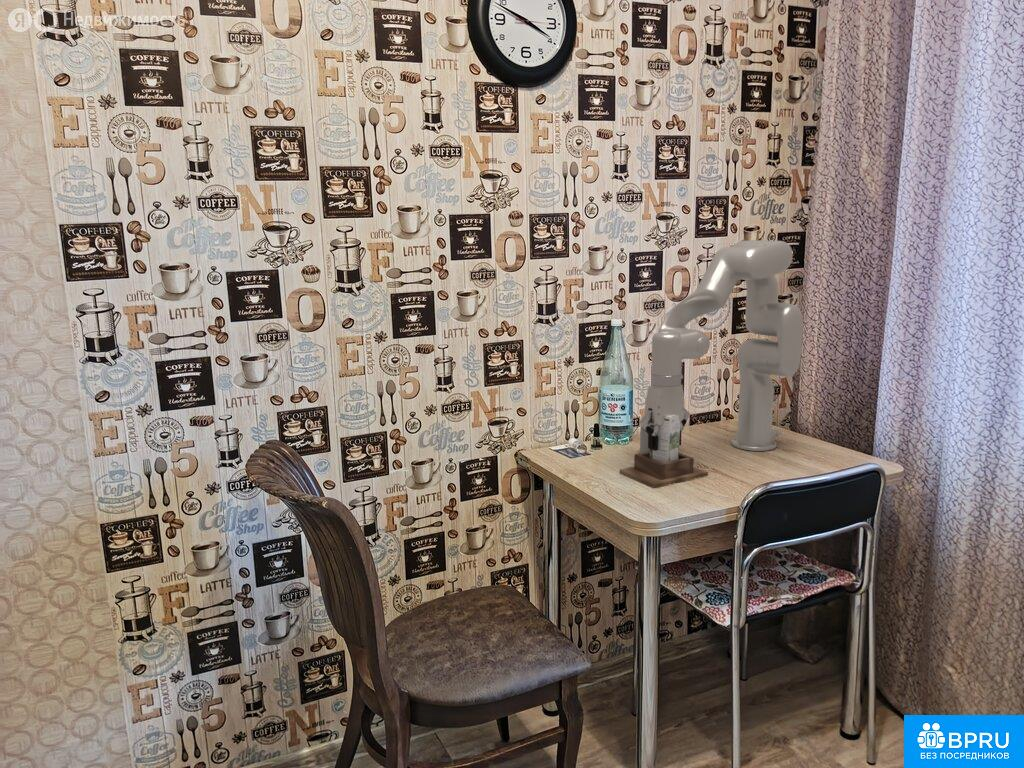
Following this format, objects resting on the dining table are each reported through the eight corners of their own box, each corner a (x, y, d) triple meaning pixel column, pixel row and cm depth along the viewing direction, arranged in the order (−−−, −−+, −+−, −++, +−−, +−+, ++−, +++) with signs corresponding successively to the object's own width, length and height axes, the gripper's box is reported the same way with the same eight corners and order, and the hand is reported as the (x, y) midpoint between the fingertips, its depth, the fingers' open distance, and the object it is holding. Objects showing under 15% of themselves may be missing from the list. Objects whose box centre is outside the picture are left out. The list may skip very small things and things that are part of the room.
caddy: (671, 461, 208) (671, 444, 207) (707, 475, 197) (708, 457, 196) (619, 473, 200) (619, 455, 199) (654, 488, 188) (654, 469, 187)
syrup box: (659, 461, 202) (660, 408, 199) (679, 465, 198) (681, 411, 195) (648, 466, 198) (649, 413, 194) (669, 471, 194) (670, 416, 191)
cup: (642, 460, 210) (643, 425, 208) (637, 451, 218) (637, 418, 216) (672, 459, 210) (673, 425, 208) (666, 451, 219) (667, 417, 217)
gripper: (681, 374, 200) (679, 438, 204) (630, 382, 192) (629, 448, 196) (701, 378, 194) (699, 445, 198) (649, 387, 186) (648, 456, 189)
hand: (664, 446), depth 197 cm, fingers closed on syrup box, 7 cm apart
